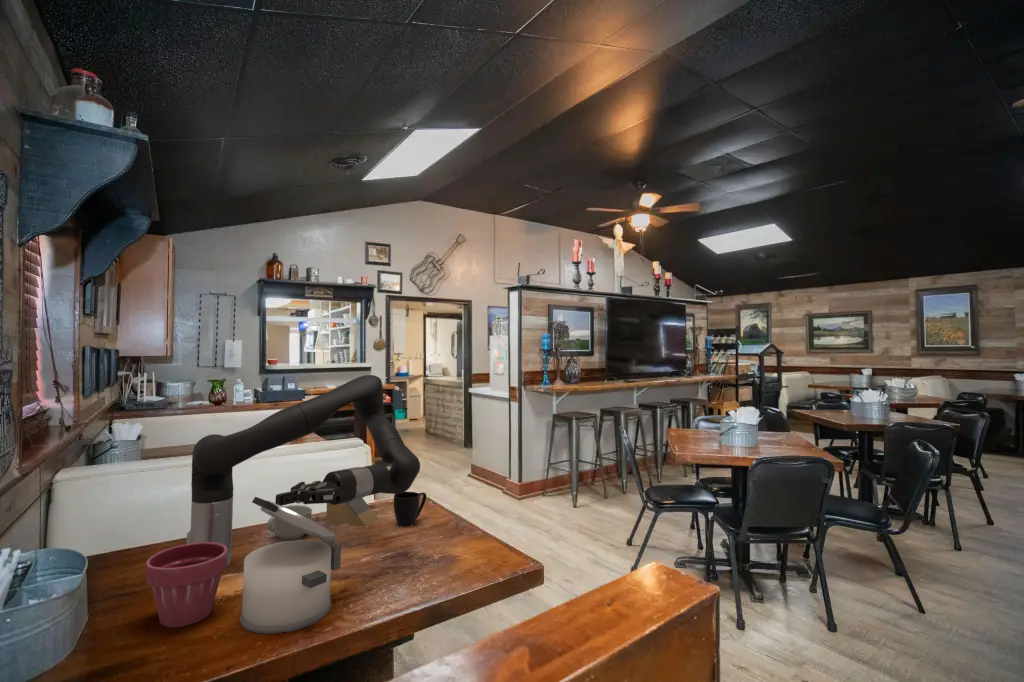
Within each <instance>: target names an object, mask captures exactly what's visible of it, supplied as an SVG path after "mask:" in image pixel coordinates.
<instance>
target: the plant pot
mask: <svg viewBox="0 0 1024 682" xmlns="http://www.w3.org/2000/svg"><path fill="white" fill-rule="evenodd" d="M226 566H227V547H226V546H225V545H223V544H220V543H214V542H199V543H191V544H187V543H184V544H180V545H176V546H172V547H170V548H169V547H168V548H166V549H163V550H161V551H158V552H157V553H155V554H153V555H151V556H150V557H149V558H148V559H147V561H146V563H145V582H146V584H147V585H149V586H151V590H152V593H153V598H154V604H155V607H156V611H157V614H158V615H157V616H158V618H159V623H160V624H161V625H162V626H163V627H167V628H179V627H185V626H188V625H193V624H195V623H198V622H201V621H202V620H204V619H206V618H207V617H209V615H210V614H212V611H213V606H214V603H215V600H216V595H217V591H218V588H219V583H220V580H221V577H222V572H223V571H224V570H226V568H227V567H228V566H227V567H226Z"/></svg>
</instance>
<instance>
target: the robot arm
mask: <svg viewBox="0 0 1024 682" xmlns="http://www.w3.org/2000/svg"><path fill="white" fill-rule="evenodd" d="M383 388H384V387H383V381H382V380H381V378H380V377H379V376H377V375H375V374H366V375H365V374H364V375H362V376H359V377H355V378H353V379H351V380H349V381H347V382H344V384H342V385H339V386H338V387H335V388H333V389H331V390H329V391H327V392H324V393H322V394H319V395H317V396H315V397H313V398H309V399H307V400H304V401H302V402H299V403H295V404H293V405H290V406H287V407H285V408H283V409H281V410H278V411H276V412H274V413H272V414H271V415H269V416H268V417H265V418H264V419H263V420H261V421H259V422H258V423H256V424H254V425H253V426H250V427H248V428H246V429H243V430H240V431H237V432H234V433H231V434H230V433H229V434H227V435H222V434H215V433H214V434H209V435H205V436H204V437H202V438H201V439H199V440H198V441H197V442H196V444H195V445H194V446H193V450H192V457H191V483H190V485H191V507H190V508H191V510H190V511H191V512H190V514H191V515H190V530H189V531H188V532H187V533H186V544H191V543H199V542H214V543H220V544H223V545H225V546H226V547H227V566H226V568H228V567H229V566H230V565H231V563H232V562H231V561H232V544H233V543H232V541H233V539H232V538H233V516H234V515H233V513H234V511H233V510H234V480H233V478H234V477H233V467H235V466H237V465H239V464H241V463H243V462H245V461H247V460H249V459H250V458H252V457H255V456H257V455H259V454H261V453H263V452H266V451H270V450H272V449H275V448H278V447H280V446H283V445H286V444H288V443H291V442H294V441H296V440H299V439H301V438H303V437H306V436H308V435H310V434H313V433H314V432H316V431H317V430H319V429H320V428H322V427H323V426H324V425H325V424H326V423H327V422H328V421H329V419H331V417H333V416H334V415H335V413H336V412H338V411H340V410H341V409H342V408H344V407H346V406H348V405H350V404H352V407H353V408H354V410H355V411H356V413H357V415H358V416H359V417H360V419H362V421H363V422H364V424H365V425H366V427H367V429H368V431H369V433H370V435H371V438H372V441H373V443H374V444H375V447H376V450H377V451H378V455H379V456H380V458H381V460H382V461H383V462H384V463H386V464H391V466H390V468H389V469H388V467H387V466H386V465H384V464H381V463H378V464H377V463H376V464H372V465H366V466H357V467H356V466H355V467H350V468H345V469H344V468H343V469H339V470H338V469H337V470H334V471H329V472H328V473H327V474H326V475H325V476H324V478H323V480H315V481H314V480H313V482H311V483H307V484H306V482H305V481H300V482H298V483H297V484H295V485H294V486H292V487H291V488H290V491H286V492H281V493H277V494H276V495H275V502H274V503H275V504H278V505H280V506H288V505H292V504H295V503H296V504H297V505H298V504H299V505H300V504H303V505H310V504H311V505H315V504H316V505H317V504H327V503H330V504H331V505H337V504H341V503H345V502H349V501H353V500H357V499H361V498H363V499H364V498H365V497H368V496H372V495H377V494H390V495H391V494H392V495H395V494H400V493H403V492H408V490H409V489H410V488H411V486H412V485H413V483H414V481H416V480H415V479H416V478H417V476H418V475H419V473H420V470H421V463H420V460H419V457H418V456H417V455H415V453H414V452H413V451H412V450H411V449H410V448H409V447H408V446H407V445H406V444H405V443H404V441H403V439H402V436H401V434H400V433H399V430H397V427H396V426H395V425H394V424H393V423H392V422H390V421H389V420H388V418H387V415H386V413H385V407H384V389H383Z"/></svg>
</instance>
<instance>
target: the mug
mask: <svg viewBox="0 0 1024 682" xmlns="http://www.w3.org/2000/svg"><path fill="white" fill-rule="evenodd" d="M420 496H422V500H421V503H420ZM426 501H427V494H426V492H423V491H422V492H415V491H405V492H403V493H400V494H393V511H394V517H395V520H396V523H397V526H398V525H399V526H398V527H400V526H410V527H412V526H411V525H413V526H414V525H415V524H416V521H417V519H418V518H419V516H420V514H421V513H422V510H423V508H424V505H425V502H426Z"/></svg>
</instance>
